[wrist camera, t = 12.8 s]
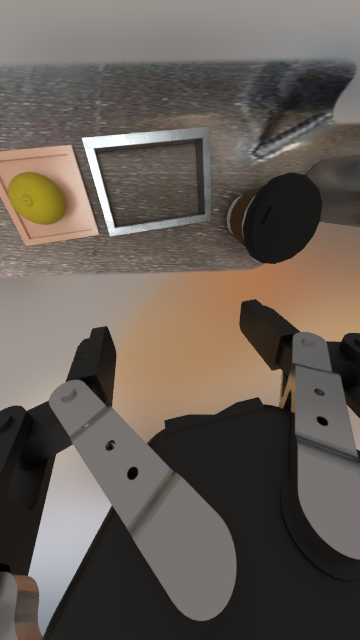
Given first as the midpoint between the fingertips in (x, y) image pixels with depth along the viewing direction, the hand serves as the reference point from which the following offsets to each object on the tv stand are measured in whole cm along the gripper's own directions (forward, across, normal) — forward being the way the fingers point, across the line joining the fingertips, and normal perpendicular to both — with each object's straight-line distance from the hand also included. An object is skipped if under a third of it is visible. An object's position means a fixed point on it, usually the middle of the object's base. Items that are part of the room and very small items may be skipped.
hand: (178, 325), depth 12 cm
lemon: (+26, +13, -7) cm, 30 cm away
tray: (+26, +13, -7) cm, 30 cm away
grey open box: (+27, -2, -7) cm, 28 cm away
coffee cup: (+27, -17, -2) cm, 32 cm away
